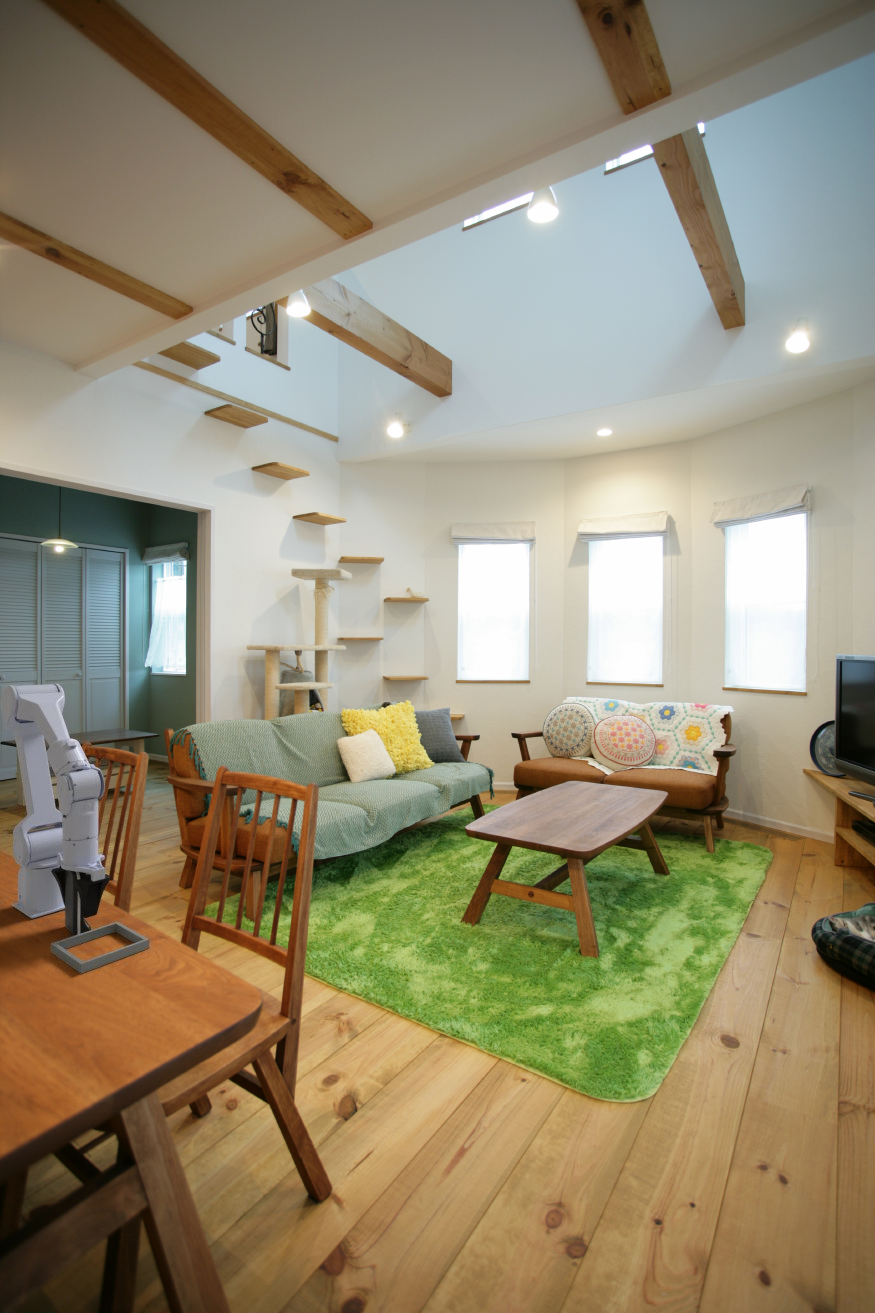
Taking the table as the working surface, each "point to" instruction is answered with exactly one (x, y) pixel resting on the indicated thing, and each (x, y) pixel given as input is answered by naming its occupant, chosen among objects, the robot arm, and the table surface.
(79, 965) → the holder frame
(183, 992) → the table surface
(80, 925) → the battery charger
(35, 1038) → the table surface
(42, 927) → the table surface
